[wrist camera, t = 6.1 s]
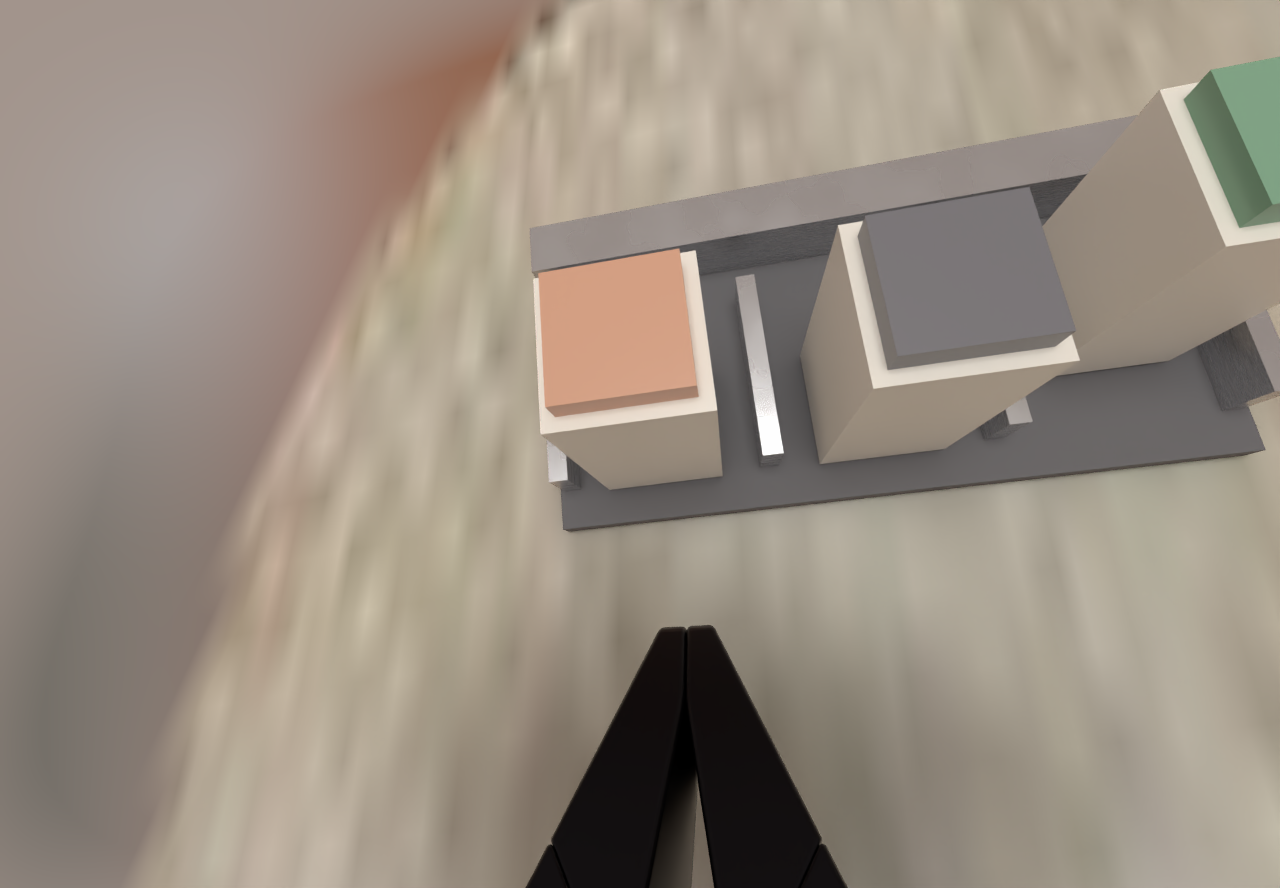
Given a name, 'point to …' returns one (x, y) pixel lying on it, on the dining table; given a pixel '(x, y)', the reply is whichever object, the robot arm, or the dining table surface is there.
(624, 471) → the key
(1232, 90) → the key
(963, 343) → the key
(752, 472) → the key mat
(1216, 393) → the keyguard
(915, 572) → the dining table surface
